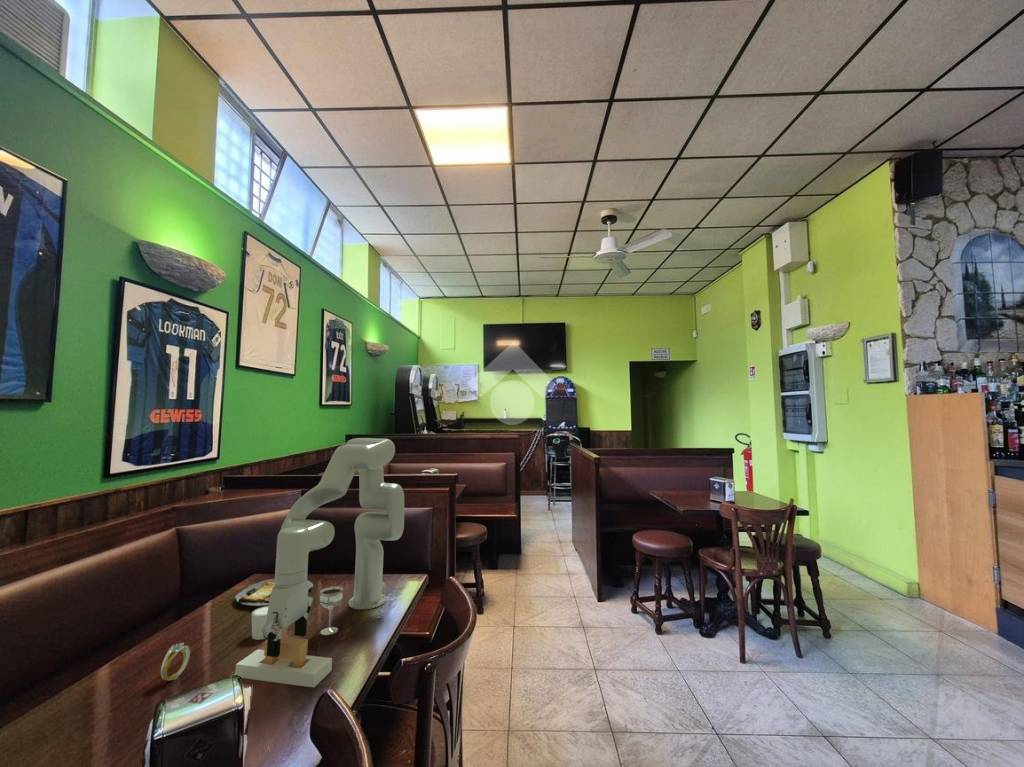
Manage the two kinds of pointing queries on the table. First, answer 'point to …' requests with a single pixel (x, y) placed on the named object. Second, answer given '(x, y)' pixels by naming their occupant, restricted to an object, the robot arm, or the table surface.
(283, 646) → the staple clip
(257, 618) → the white tapered cylinder
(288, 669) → the slotted rail
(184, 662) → the bracelet
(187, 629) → the table surface
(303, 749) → the table surface
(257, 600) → the food plate
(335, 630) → the wineglass
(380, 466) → the robot arm
